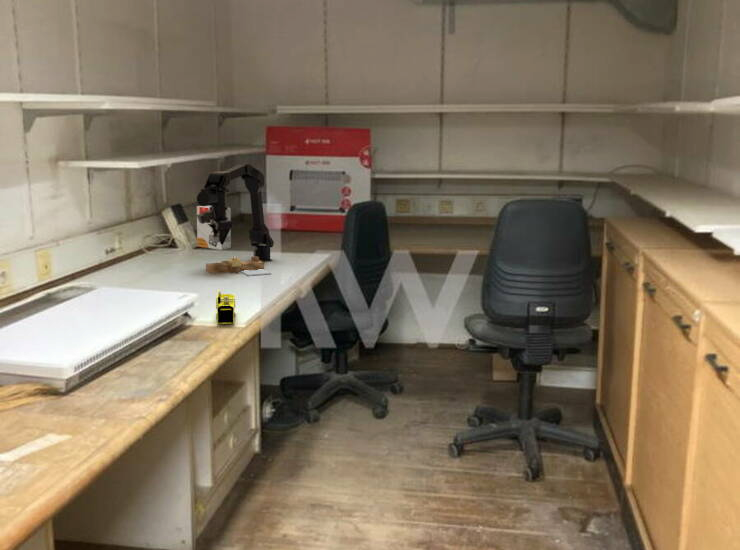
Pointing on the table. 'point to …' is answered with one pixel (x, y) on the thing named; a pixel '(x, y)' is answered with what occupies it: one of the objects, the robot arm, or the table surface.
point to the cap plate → (217, 238)
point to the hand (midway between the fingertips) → (219, 242)
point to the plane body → (225, 267)
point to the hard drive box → (210, 232)
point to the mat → (256, 272)
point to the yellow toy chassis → (225, 308)
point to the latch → (234, 262)
